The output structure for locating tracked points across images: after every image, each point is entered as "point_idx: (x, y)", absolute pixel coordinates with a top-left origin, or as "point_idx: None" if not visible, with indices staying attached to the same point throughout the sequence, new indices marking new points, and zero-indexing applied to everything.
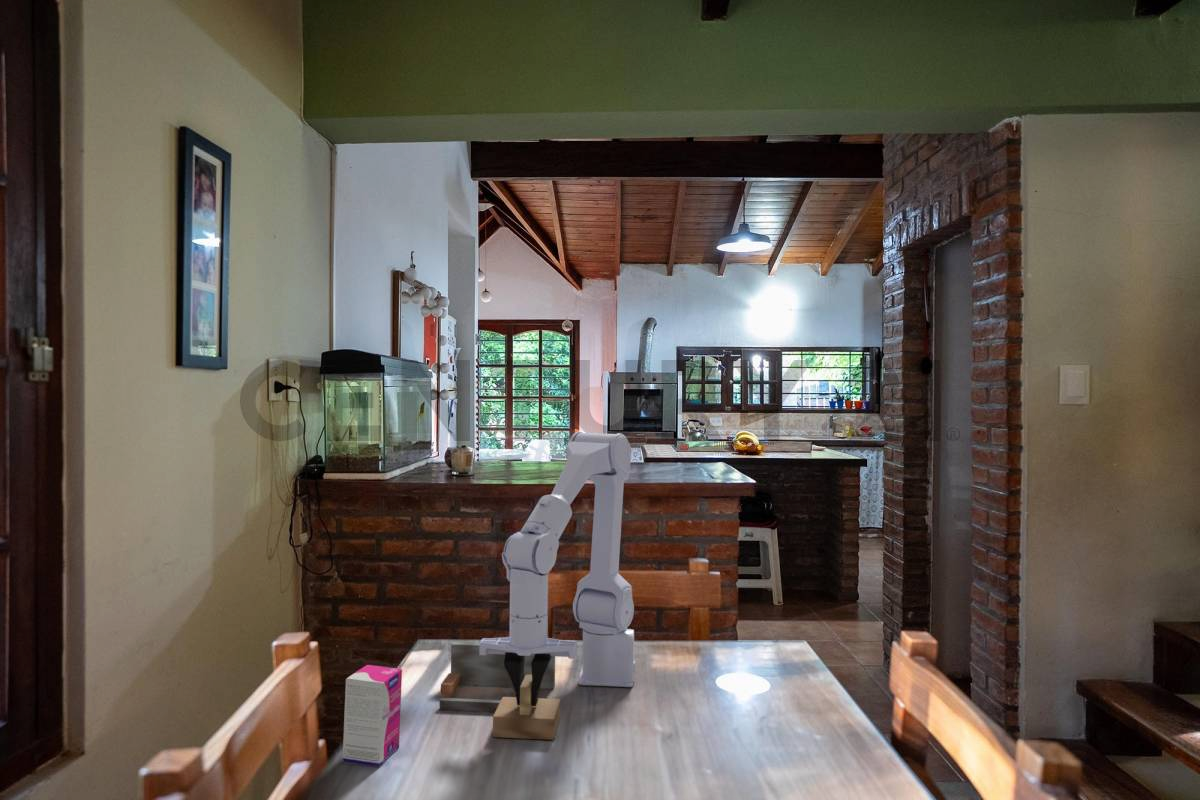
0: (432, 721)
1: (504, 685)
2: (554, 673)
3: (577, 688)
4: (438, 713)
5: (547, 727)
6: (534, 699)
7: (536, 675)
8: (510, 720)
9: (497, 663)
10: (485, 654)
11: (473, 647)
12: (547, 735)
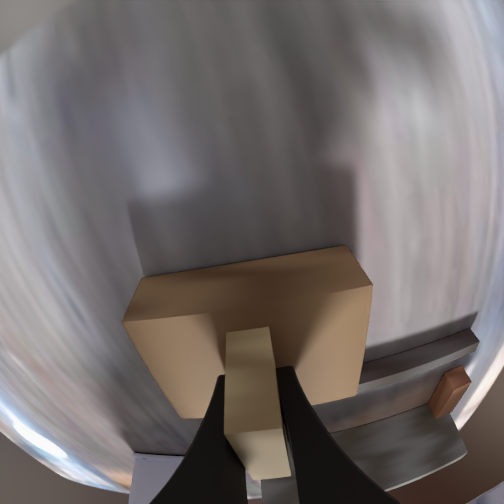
0: (484, 281)
1: (354, 430)
2: None
3: None
4: (472, 315)
5: (151, 298)
6: (219, 394)
7: (194, 493)
8: (297, 290)
9: (378, 460)
10: (490, 495)
11: (430, 467)
12: (157, 282)
